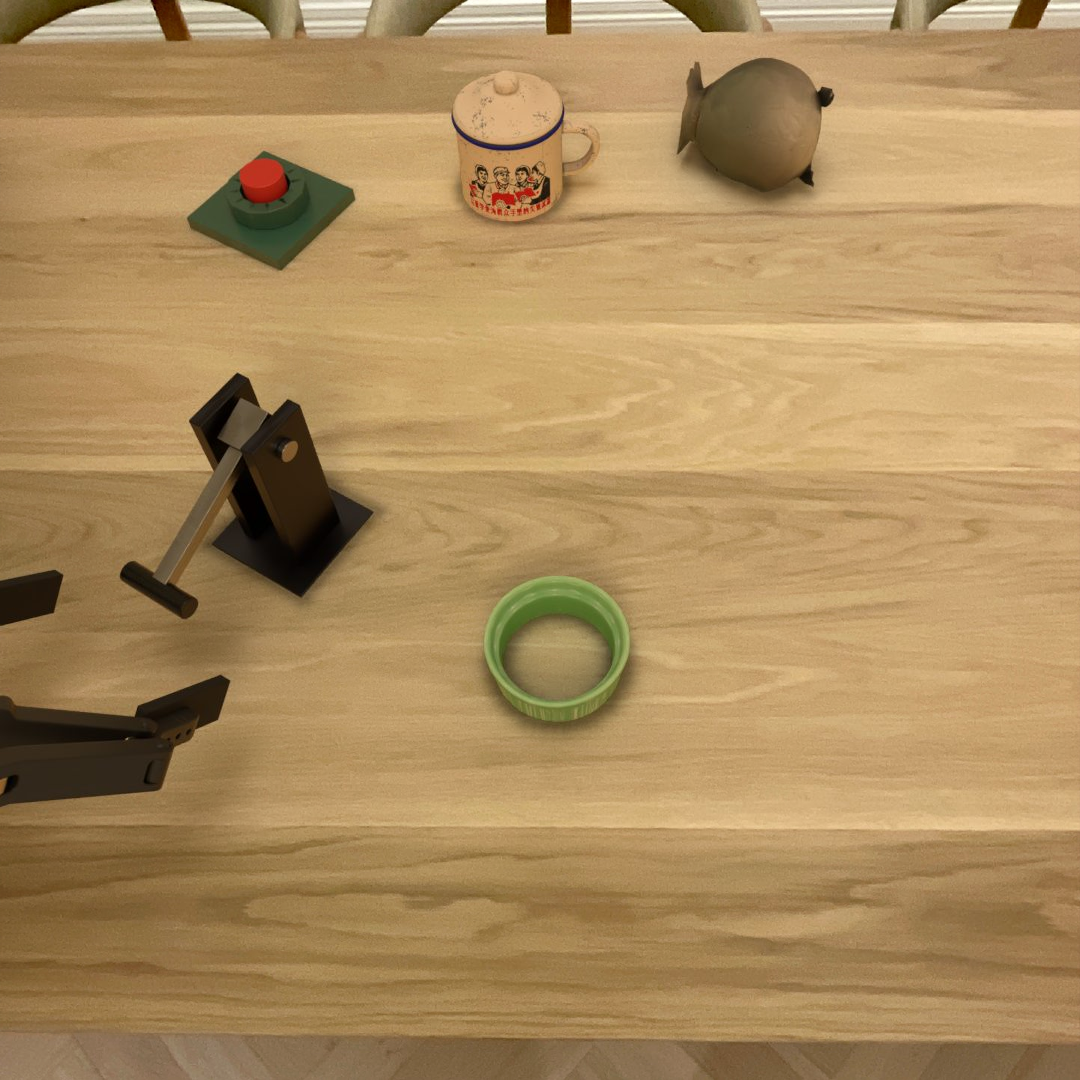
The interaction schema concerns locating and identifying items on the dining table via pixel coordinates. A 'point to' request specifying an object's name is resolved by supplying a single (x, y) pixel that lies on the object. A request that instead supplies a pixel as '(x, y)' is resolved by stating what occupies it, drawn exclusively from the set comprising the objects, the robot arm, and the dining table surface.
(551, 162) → the teacup with lid
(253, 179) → the button
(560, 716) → the ramekin
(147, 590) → the lever
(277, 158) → the button box
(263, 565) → the bracket
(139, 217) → the dining table surface
